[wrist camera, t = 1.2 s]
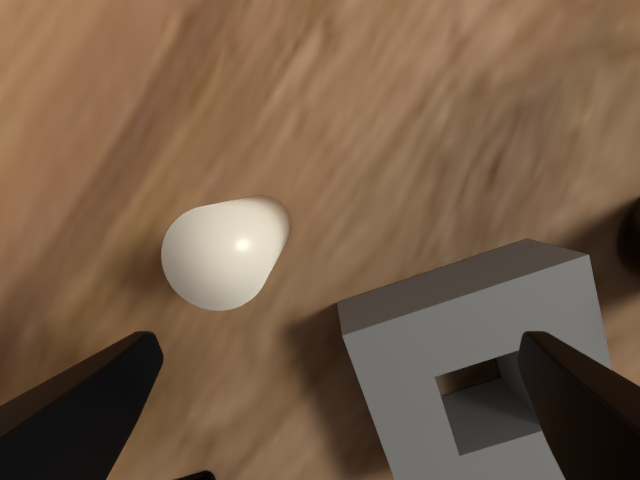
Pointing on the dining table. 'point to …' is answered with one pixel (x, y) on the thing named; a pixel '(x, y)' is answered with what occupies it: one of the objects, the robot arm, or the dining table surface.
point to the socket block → (469, 359)
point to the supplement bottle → (631, 241)
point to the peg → (225, 250)
